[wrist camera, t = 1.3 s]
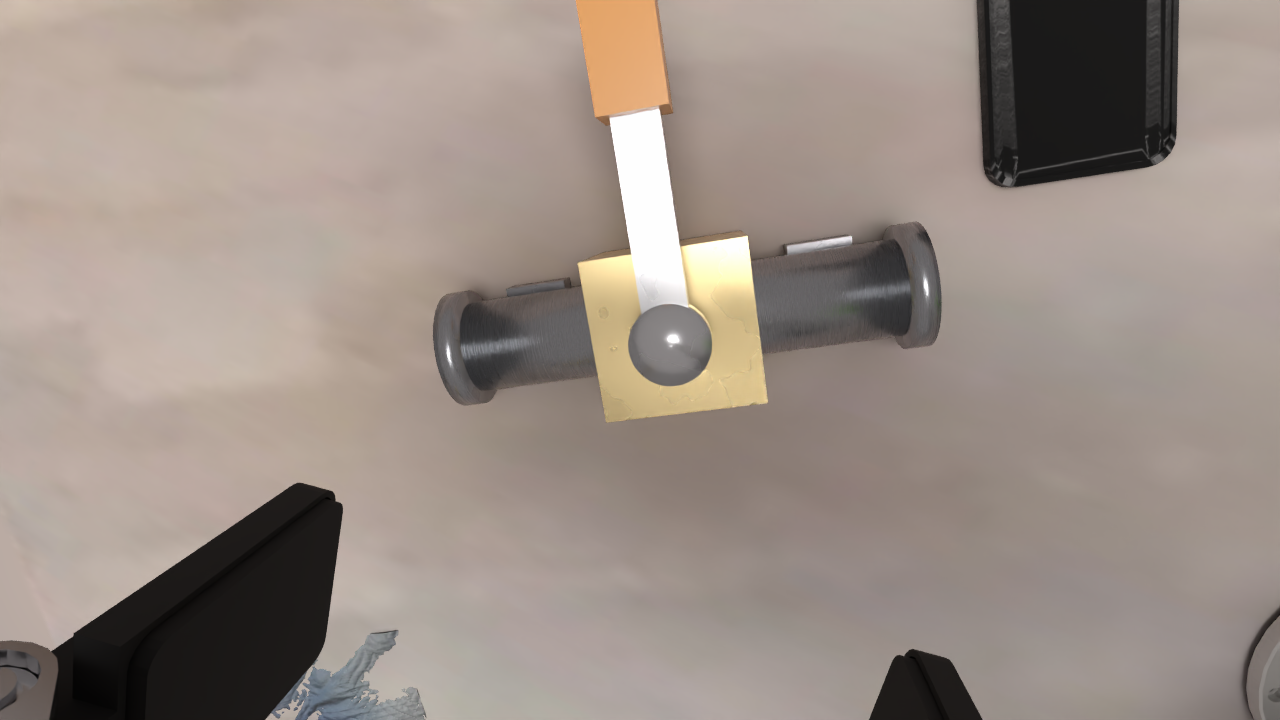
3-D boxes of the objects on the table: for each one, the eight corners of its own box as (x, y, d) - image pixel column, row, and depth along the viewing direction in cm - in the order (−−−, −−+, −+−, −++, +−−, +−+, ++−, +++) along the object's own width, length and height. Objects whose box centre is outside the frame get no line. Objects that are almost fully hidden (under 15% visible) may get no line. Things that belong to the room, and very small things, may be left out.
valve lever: (717, 369, 27) (717, 384, 24) (640, 379, 27) (633, 395, 25) (664, -3, 24) (660, -26, 21) (579, 14, 24) (566, -6, 22)
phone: (991, 190, 30) (977, -180, 27) (981, 191, 31) (967, -165, 28) (1178, 162, 29) (1186, -227, 26) (1161, 164, 30) (1167, -210, 27)
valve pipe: (897, 205, 31) (953, 204, 24) (908, 347, 33) (964, 387, 26) (465, 274, 35) (398, 292, 27) (492, 400, 36) (435, 450, 29)
